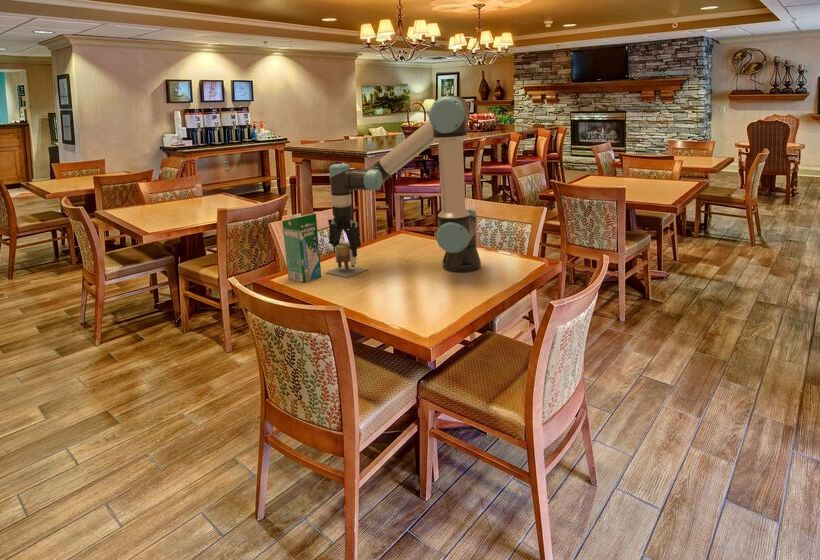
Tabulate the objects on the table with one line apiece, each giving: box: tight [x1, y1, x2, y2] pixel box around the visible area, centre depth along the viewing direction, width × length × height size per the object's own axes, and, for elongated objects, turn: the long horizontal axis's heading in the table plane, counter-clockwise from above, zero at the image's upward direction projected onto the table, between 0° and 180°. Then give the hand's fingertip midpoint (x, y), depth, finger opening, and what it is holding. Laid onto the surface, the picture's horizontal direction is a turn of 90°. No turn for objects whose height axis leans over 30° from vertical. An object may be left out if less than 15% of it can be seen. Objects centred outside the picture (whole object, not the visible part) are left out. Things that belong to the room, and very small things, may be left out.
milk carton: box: [281, 213, 322, 283], centre depth 213 cm, size 9×9×25 cm
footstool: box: [336, 242, 356, 269], centre depth 220 cm, size 7×7×9 cm
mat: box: [324, 264, 369, 279], centre depth 222 cm, size 12×12×1 cm
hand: (346, 263), depth 221 cm, fingers closed on footstool, 7 cm apart
